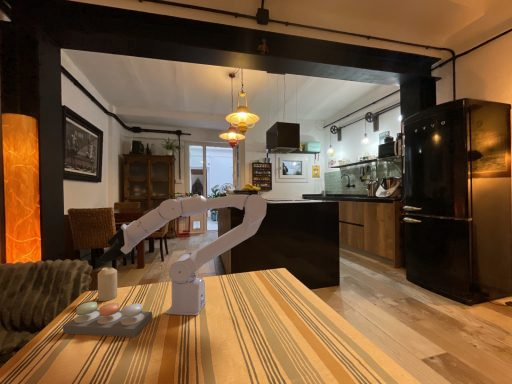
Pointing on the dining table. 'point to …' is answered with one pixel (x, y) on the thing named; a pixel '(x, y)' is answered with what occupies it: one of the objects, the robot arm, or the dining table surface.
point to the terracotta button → (109, 309)
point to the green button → (86, 308)
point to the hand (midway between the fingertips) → (106, 251)
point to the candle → (107, 284)
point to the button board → (108, 324)
